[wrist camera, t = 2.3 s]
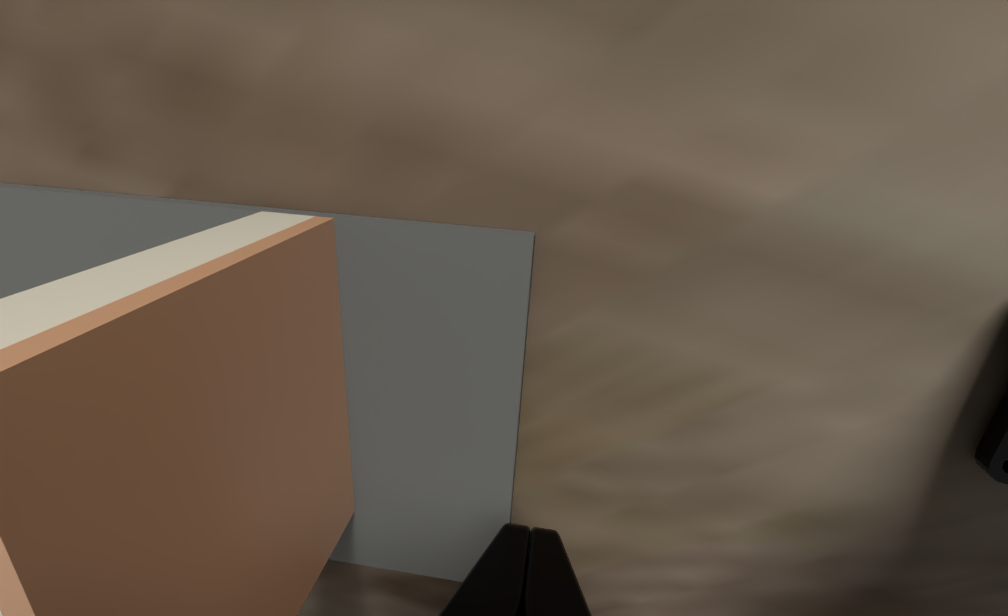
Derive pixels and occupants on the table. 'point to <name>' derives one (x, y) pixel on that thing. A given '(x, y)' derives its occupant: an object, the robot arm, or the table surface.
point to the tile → (177, 428)
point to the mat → (360, 354)
